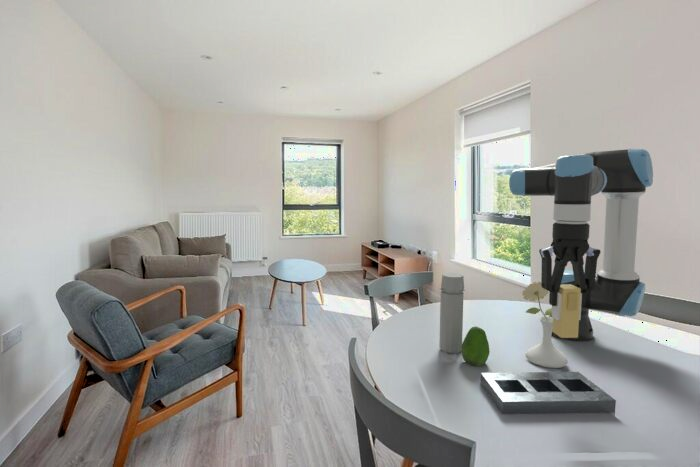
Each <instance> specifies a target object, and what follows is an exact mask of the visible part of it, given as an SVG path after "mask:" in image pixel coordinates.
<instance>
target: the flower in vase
mask: <svg viewBox="0 0 700 467" xmlns="http://www.w3.org/2000/svg"><path fill="white" fill-rule="evenodd" d="M548 294H550V292H549V291H548V290H546V289H544V288H542V286H541V281H538V282H536V281H534V282H532V283H529V284H528V285H527V286H526V287H524V290H522V296H523V299H524V300H526V301H529V302H536V301H537V302H538V307H539V308H538V307H530V308H528V309H527V310H526V311H525V313H527V314H530V315H531V314H532V315H536V314H538V313H539V312H541V313H542V315H543V316H539V317H538V320H540V322H541V325H542V332H543V333H542V334H543V336H542V340H541V342H540V343H538V344H536V345H534V346H532V347H530V348H529V349H528V350H526V352H525V355H524V356H525V358H526V359H527V360H528V361H529V362H531V363H533V364H534V365H537V366H540V367H544V368H549V369H561V368H563V367H566V366H567V365H568V364H569V361H568V359H567V357H566V356H565V354H564V353H563V352H562V351H561V350H560V349H559V348H557V347H556V346H555V345H554V344H553V341H552V336H553V335H552V329H553V318H552V317H549V315H552V307H551V308H548V309H546V310H545V311H543V310H542V306H541V303H540V302H541V301H540V300H543V299H544V298H545V297H547V295H548Z"/></svg>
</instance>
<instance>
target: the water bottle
mask: <svg viewBox="0 0 700 467" xmlns="http://www.w3.org/2000/svg"><path fill="white" fill-rule="evenodd" d="M439 290H440V301H439V302H440V303H439V304H440V306H439V307H440V308H439V310H440V311H439V312H440V314H439V349H440V350H441V351H442V352H444V353H446V354H451V355H453V354H457V353H458V354H459V353H460V352H461V348H462V343H463V330H464V329H463V326H464V325H463V324H464V320H463V318H464V292H465V291H466V290H465V280H464V275H463V274H461V273H458V272H457V273H455V272H445V273H443V274H442V276H441V283H440V288H439Z"/></svg>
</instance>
